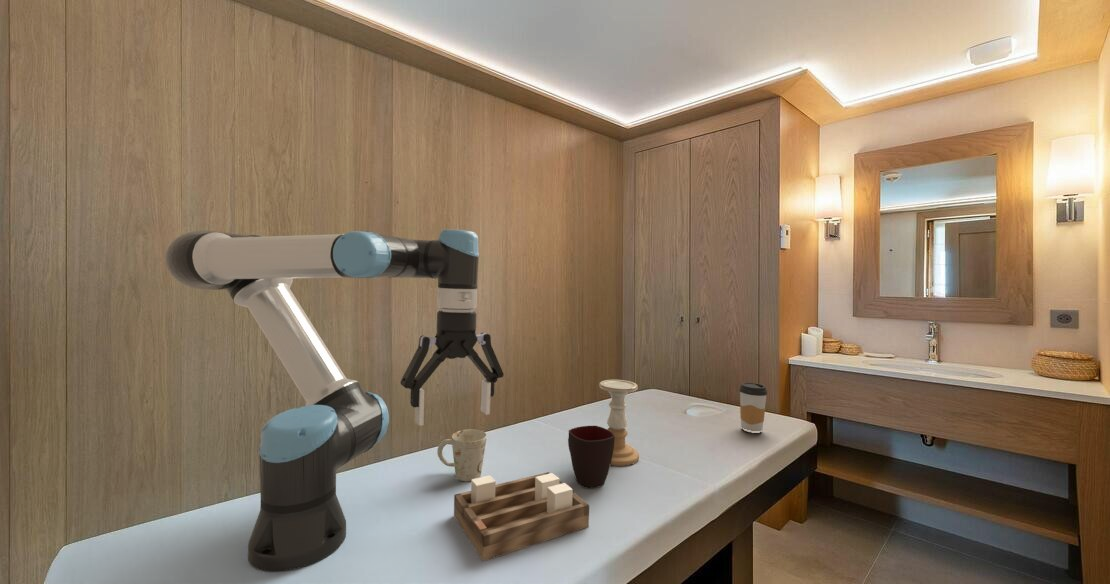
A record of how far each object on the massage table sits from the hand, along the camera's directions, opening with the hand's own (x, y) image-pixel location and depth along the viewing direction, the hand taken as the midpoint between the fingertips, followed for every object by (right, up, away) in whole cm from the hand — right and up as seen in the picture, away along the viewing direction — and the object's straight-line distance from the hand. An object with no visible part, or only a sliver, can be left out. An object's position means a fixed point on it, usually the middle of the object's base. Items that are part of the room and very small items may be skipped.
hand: (453, 417), depth 86 cm
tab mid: (+18, -19, +4) cm, 26 cm away
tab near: (+21, -19, 0) cm, 28 cm away
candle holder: (+37, -21, +34) cm, 54 cm away
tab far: (+5, -18, +2) cm, 19 cm away
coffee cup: (+84, -21, +57) cm, 104 cm away
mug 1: (-3, -20, +21) cm, 29 cm away
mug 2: (+27, -21, +20) cm, 40 cm away
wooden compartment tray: (+13, -21, +1) cm, 25 cm away
